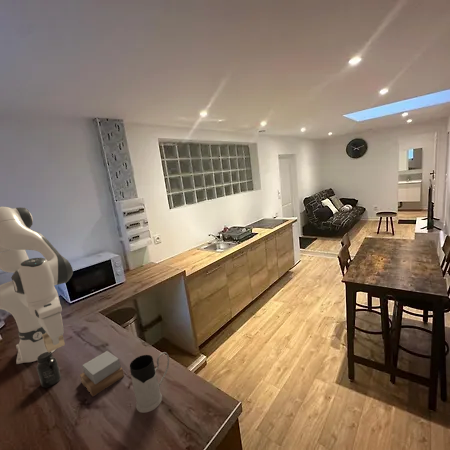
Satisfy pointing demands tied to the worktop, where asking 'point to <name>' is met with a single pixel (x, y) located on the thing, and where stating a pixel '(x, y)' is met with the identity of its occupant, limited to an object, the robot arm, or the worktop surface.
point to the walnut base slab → (101, 382)
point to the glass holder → (146, 382)
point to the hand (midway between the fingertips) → (53, 340)
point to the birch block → (49, 344)
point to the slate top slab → (101, 367)
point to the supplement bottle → (48, 369)
